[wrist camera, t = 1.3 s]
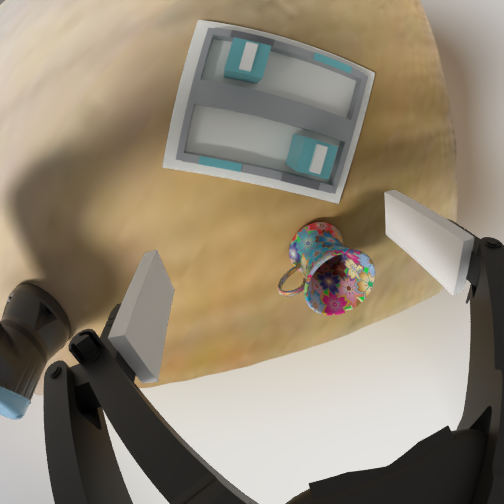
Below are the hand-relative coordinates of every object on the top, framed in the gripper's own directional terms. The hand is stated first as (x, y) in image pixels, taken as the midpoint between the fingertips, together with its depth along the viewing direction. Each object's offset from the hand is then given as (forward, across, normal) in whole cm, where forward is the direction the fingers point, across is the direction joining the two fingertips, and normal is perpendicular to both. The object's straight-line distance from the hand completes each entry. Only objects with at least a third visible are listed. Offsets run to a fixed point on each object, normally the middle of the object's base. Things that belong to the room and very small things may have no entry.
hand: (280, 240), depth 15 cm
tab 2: (+21, +8, 0) cm, 22 cm away
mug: (+23, +6, -14) cm, 27 cm away
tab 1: (+21, +3, +13) cm, 25 cm away
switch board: (+22, +5, +7) cm, 24 cm away
